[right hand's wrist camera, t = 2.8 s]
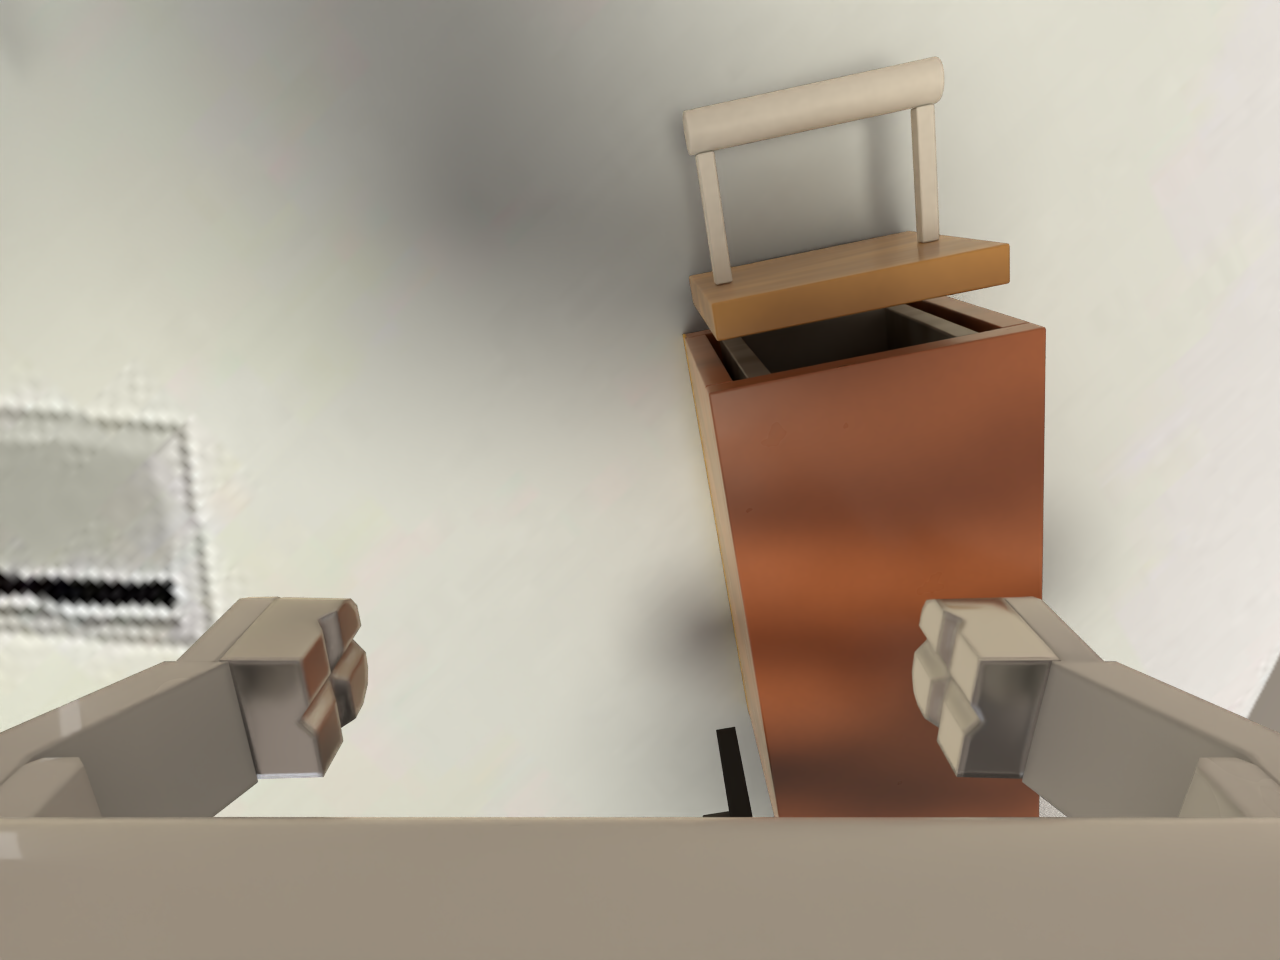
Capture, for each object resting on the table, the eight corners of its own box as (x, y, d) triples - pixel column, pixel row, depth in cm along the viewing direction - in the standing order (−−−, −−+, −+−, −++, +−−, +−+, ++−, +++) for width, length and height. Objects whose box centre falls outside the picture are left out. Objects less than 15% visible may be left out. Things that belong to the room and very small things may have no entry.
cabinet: (682, 334, 31) (707, 393, 22) (919, 286, 31) (1047, 326, 22) (747, 706, 39) (786, 867, 30) (938, 673, 38) (1040, 826, 29)
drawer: (663, 125, 28) (679, 99, 20) (901, 73, 27) (1009, 27, 20) (751, 658, 37) (785, 778, 29) (931, 626, 36) (1012, 740, 29)
